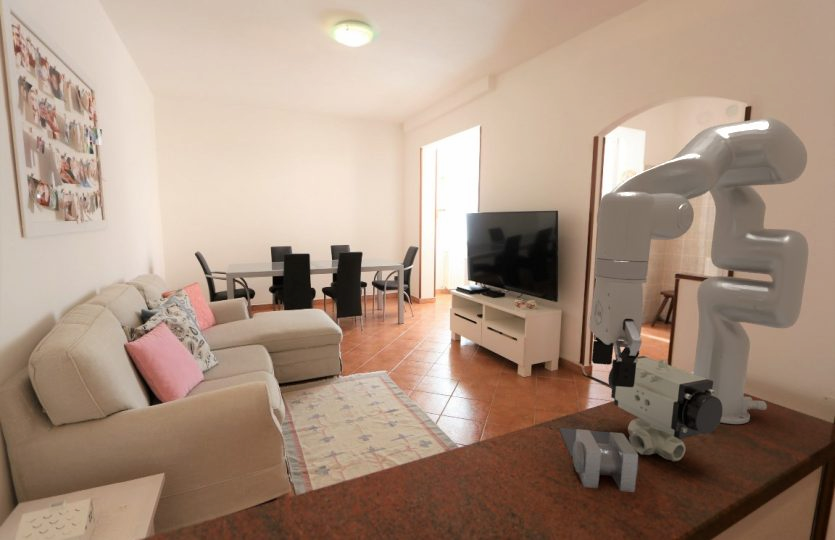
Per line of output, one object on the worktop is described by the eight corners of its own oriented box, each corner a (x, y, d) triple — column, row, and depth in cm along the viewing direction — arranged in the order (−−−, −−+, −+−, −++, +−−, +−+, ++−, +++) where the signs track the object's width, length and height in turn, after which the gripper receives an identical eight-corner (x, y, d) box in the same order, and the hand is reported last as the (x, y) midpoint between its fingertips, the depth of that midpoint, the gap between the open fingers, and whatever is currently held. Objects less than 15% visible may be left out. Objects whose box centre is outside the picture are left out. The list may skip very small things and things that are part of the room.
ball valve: (597, 430, 83) (604, 348, 80) (628, 424, 86) (635, 344, 83) (682, 484, 66) (693, 382, 64) (716, 474, 69) (728, 376, 67)
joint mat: (609, 433, 82) (609, 432, 81) (628, 462, 72) (628, 461, 72) (559, 429, 83) (559, 427, 83) (570, 457, 73) (571, 455, 73)
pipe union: (623, 468, 70) (626, 433, 69) (638, 492, 64) (642, 455, 63) (570, 462, 71) (573, 428, 71) (580, 486, 65) (582, 449, 64)
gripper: (581, 264, 72) (574, 355, 74) (614, 277, 55) (604, 394, 57) (624, 266, 71) (616, 358, 73) (672, 279, 54) (659, 398, 56)
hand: (611, 373), depth 65 cm, fingers open, 9 cm apart
